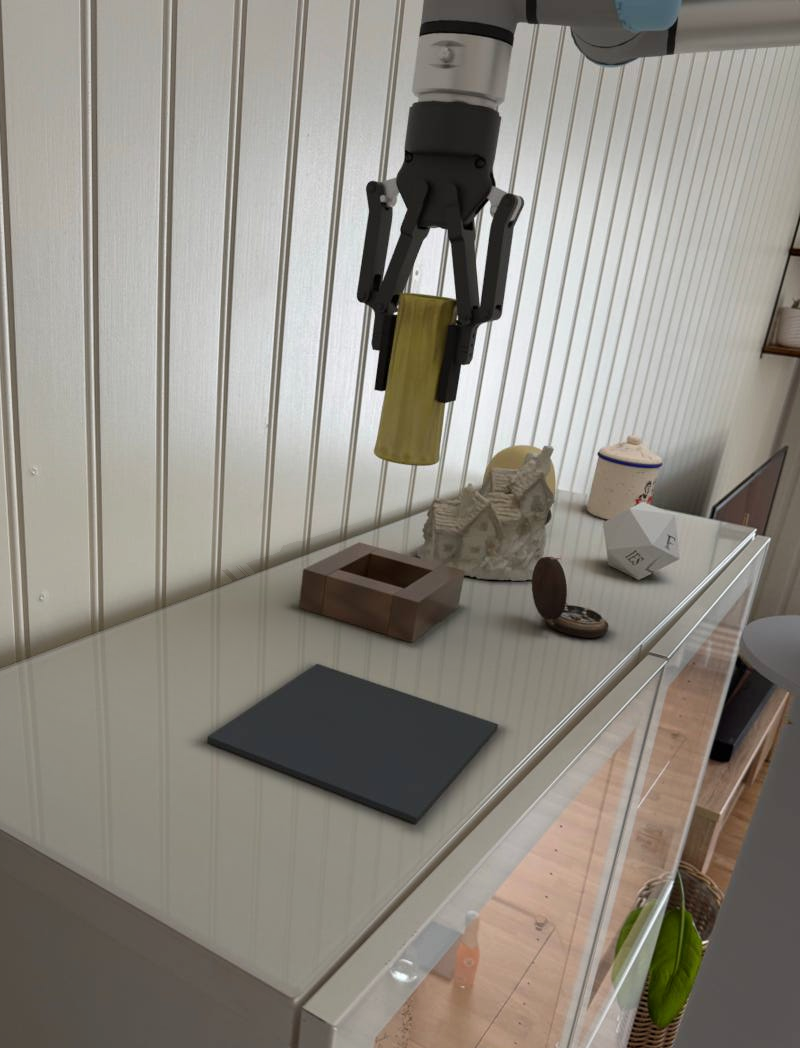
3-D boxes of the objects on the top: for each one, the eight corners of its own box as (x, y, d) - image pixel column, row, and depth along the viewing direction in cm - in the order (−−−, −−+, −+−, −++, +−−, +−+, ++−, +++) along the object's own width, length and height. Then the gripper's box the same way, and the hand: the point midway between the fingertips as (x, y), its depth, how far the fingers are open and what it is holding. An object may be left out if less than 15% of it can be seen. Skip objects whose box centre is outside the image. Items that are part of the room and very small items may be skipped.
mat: (497, 729, 74) (498, 724, 74) (415, 824, 61) (417, 817, 61) (316, 668, 80) (317, 663, 80) (207, 742, 67) (207, 736, 67)
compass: (618, 640, 95) (636, 570, 92) (545, 639, 93) (561, 567, 90) (581, 609, 102) (596, 543, 99) (512, 607, 100) (526, 540, 97)
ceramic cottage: (536, 543, 122) (554, 425, 115) (556, 593, 107) (578, 460, 101) (413, 535, 122) (424, 417, 116) (416, 583, 108) (429, 451, 101)
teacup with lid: (643, 528, 136) (664, 447, 131) (579, 514, 139) (597, 434, 135) (653, 511, 146) (673, 435, 142) (593, 499, 149) (611, 424, 145)
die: (597, 583, 113) (666, 531, 107) (574, 527, 118) (639, 474, 112) (642, 603, 118) (710, 554, 111) (618, 548, 123) (682, 499, 117)
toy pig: (475, 544, 132) (491, 509, 122) (477, 467, 136) (492, 427, 126) (546, 550, 132) (568, 516, 122) (546, 472, 136) (567, 433, 126)
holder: (458, 607, 98) (465, 570, 96) (411, 642, 88) (418, 602, 86) (353, 577, 103) (358, 541, 101) (298, 607, 93) (303, 568, 91)
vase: (440, 469, 86) (467, 302, 81) (373, 461, 86) (395, 294, 81) (436, 455, 92) (461, 298, 86) (373, 447, 92) (393, 290, 86)
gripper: (334, 91, 78) (306, 381, 88) (554, 102, 71) (498, 418, 80) (374, 106, 85) (343, 375, 94) (580, 118, 77) (525, 409, 86)
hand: (414, 394), depth 87 cm, fingers closed on vase, 5 cm apart
